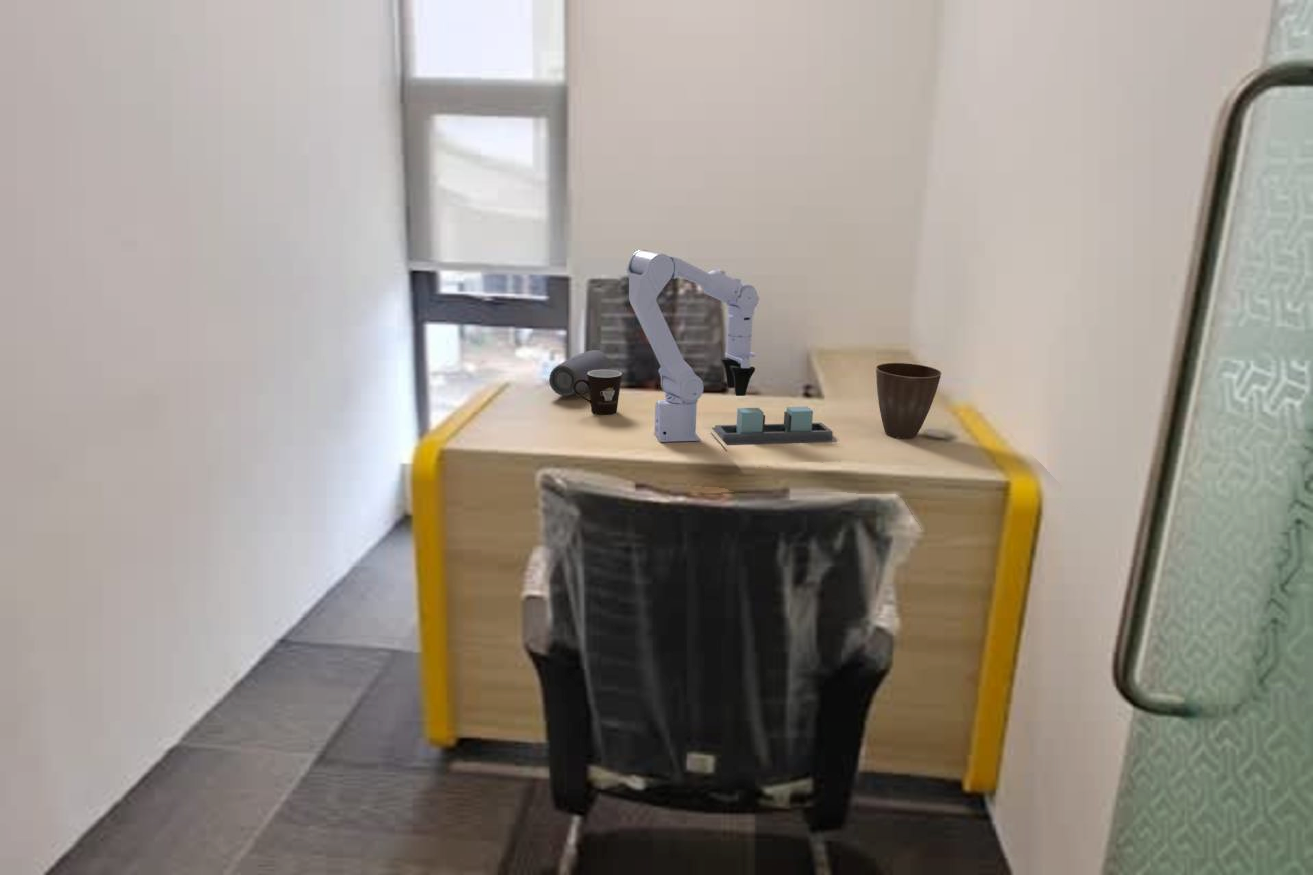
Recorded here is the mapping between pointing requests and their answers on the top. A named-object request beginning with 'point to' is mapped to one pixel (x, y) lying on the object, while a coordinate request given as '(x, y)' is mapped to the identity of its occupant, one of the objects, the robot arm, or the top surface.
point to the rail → (773, 435)
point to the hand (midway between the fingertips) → (736, 391)
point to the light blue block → (798, 419)
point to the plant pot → (905, 396)
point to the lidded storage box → (750, 420)
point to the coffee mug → (602, 391)
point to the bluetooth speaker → (577, 372)
